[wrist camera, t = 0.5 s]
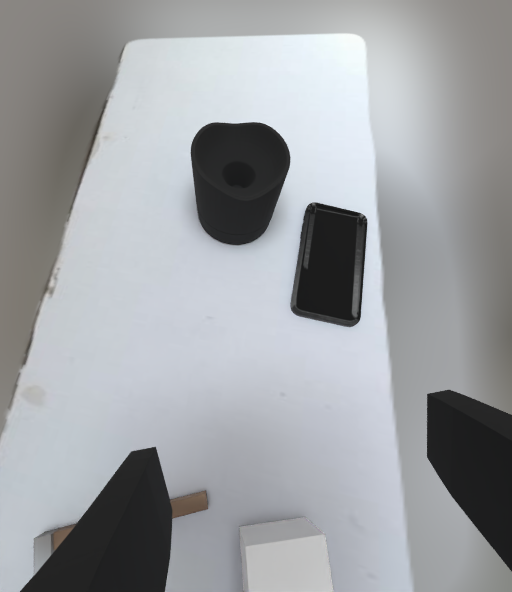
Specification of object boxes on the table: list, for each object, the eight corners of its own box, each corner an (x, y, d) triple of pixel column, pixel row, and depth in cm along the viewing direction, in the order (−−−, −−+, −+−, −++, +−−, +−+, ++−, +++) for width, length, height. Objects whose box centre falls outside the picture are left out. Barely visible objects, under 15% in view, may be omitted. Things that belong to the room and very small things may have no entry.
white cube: (244, 611, 28) (252, 654, 23) (238, 526, 31) (244, 546, 25) (315, 598, 29) (340, 637, 24) (305, 516, 31) (325, 534, 26)
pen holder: (245, 263, 40) (256, 212, 31) (178, 220, 41) (169, 158, 32) (286, 209, 43) (307, 148, 34) (224, 170, 44) (228, 101, 35)
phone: (367, 214, 44) (359, 326, 38) (364, 219, 45) (355, 329, 39) (307, 200, 43) (289, 311, 38) (304, 205, 44) (287, 314, 39)
